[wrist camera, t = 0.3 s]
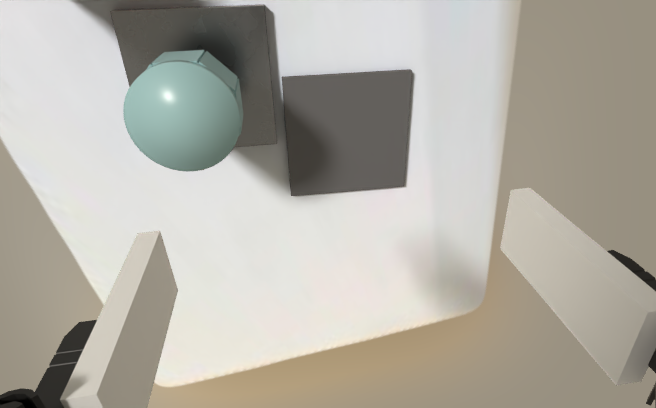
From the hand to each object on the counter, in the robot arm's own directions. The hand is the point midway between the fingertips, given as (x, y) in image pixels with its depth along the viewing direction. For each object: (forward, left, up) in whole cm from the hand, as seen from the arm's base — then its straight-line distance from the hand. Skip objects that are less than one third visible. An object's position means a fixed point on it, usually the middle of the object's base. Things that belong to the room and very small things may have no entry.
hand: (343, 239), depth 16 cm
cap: (0, -8, -20) cm, 22 cm away
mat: (+6, +5, -26) cm, 27 cm away
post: (0, -8, -26) cm, 27 cm away
